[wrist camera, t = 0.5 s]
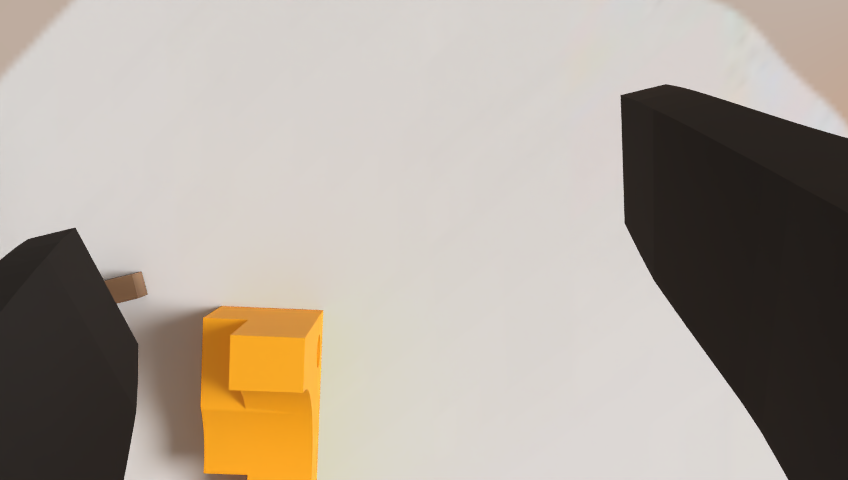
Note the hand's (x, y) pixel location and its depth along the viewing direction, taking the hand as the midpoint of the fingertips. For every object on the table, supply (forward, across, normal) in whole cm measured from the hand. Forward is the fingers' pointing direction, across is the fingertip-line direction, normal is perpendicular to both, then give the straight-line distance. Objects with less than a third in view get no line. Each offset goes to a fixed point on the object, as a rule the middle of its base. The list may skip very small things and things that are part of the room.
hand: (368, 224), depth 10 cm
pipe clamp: (+15, +7, +20) cm, 26 cm away
